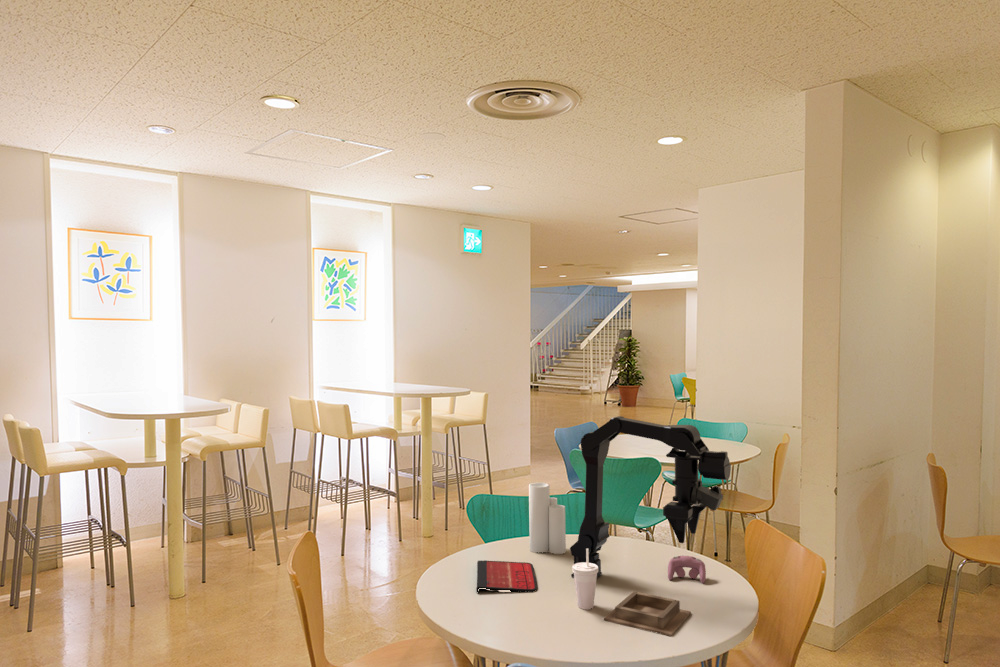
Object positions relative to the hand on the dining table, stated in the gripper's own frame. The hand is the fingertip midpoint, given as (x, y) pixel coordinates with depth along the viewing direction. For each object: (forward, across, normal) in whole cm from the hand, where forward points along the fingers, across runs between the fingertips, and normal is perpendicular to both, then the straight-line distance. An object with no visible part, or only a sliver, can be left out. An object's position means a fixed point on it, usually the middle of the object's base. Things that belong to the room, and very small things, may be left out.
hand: (687, 538), depth 167 cm
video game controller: (+15, +12, +4) cm, 20 cm away
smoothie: (+15, -19, +19) cm, 31 cm away
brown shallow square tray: (+15, -17, +4) cm, 23 cm away
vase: (+15, +14, +48) cm, 52 cm away
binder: (+16, -13, +46) cm, 50 cm away
